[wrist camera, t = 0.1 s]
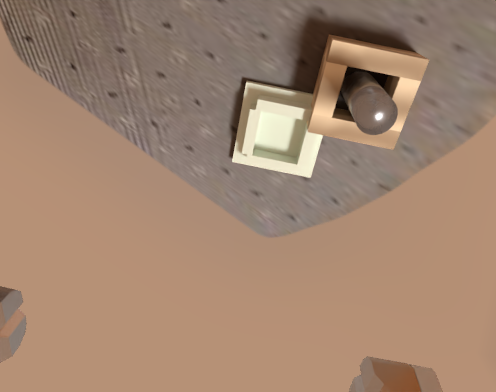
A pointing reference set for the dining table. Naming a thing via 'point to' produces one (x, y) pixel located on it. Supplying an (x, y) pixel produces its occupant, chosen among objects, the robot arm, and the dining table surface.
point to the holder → (276, 130)
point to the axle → (369, 103)
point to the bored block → (368, 58)
